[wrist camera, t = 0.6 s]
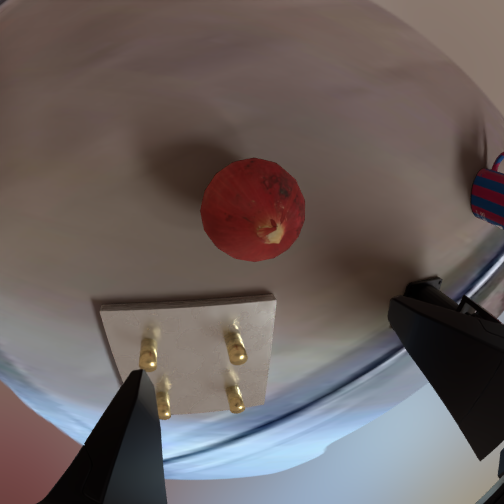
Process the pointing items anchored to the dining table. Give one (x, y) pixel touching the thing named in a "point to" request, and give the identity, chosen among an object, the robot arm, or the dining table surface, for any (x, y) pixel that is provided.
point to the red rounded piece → (253, 210)
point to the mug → (489, 195)
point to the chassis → (196, 350)
